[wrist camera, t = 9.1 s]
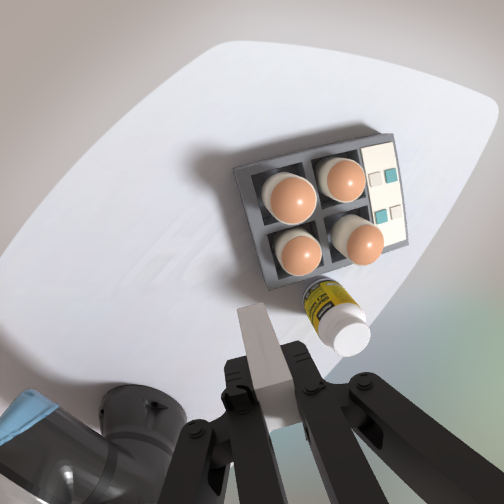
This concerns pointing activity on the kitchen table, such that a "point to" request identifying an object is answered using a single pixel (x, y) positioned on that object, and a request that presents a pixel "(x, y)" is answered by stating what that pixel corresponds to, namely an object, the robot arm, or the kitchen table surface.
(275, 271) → the board
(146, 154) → the kitchen table surface
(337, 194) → the button
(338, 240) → the button
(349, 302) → the pill bottle
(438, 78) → the kitchen table surface
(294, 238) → the button
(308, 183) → the button
